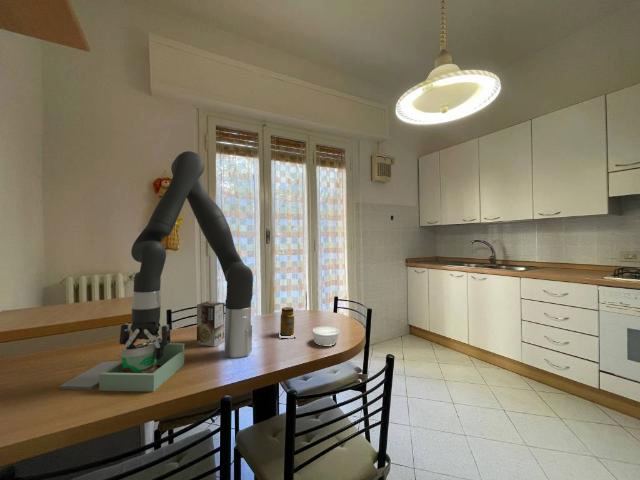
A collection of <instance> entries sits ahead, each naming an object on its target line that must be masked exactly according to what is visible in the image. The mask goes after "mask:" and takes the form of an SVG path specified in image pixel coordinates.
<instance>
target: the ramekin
mask: <svg viewBox="0 0 640 480" xmlns="http://www.w3.org/2000/svg"><path fill="white" fill-rule="evenodd" d="M339 335H340V330H339V329H338V328H336V327H333V326H317V327H314V328H313V329H312V337H313V342H315V343H316V344H320V345H330V344H334V343H336V342H337V343H338V342H339V341H338V340H339ZM315 343H314V344H315ZM337 343H336V344H337ZM316 344H315V345H316Z"/></svg>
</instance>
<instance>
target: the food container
mask: <svg viewBox="0 0 640 480" xmlns="http://www.w3.org/2000/svg"><path fill="white" fill-rule="evenodd" d="M154 337H155V338H156V336H154ZM140 343H141V344H139V343H137V344H135V347H133V348H131V349H129V350H126V349H121V351H120V354H119V358H121V361H122V365H123V373H154V372H155V371H156V370H157V365H156V364H157V360H155V353H156V348H157V347H156V346H155V344H154V343H152V342H151V341H150V340H147V341H146V342H140Z"/></svg>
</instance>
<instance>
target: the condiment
mask: <svg viewBox="0 0 640 480" xmlns="http://www.w3.org/2000/svg"><path fill="white" fill-rule="evenodd" d="M279 324H280V326H279V328H280V332H279V333H280V335H281V336H291V335H293V334H295V314H294V307H287V306H285V307H283V308H281V314H280V323H279ZM278 339H279V340H282V339H281V338H279V337H278Z"/></svg>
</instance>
